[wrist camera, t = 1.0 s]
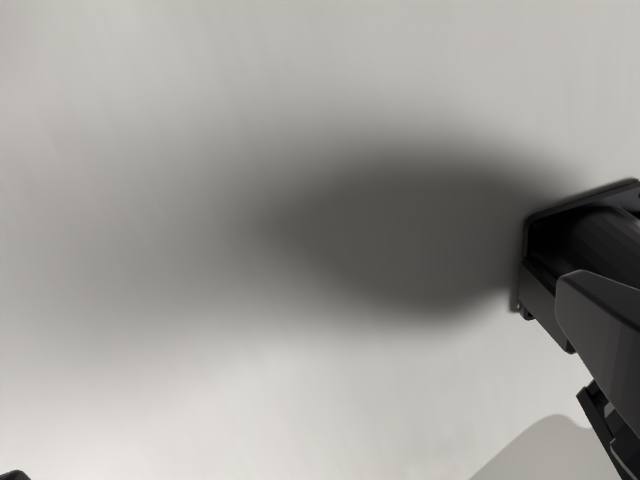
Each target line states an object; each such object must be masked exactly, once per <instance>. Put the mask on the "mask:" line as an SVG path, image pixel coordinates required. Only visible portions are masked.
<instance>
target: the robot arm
mask: <svg viewBox="0 0 640 480" xmlns="http://www.w3.org/2000/svg"><path fill="white" fill-rule="evenodd" d="M536 224H537V225H536ZM535 225H536V226H535ZM534 226H535V227H534ZM518 299H519V301H520V304H519V313H520V315H521V316H522V317H523V318H524V319H525V320H528V321H529V320H533V319H536V320H537V321H538V322H539V323H540V324H541V325H542V327H543V328H544V329H545V330H546V331H547V332H548V333H549V334H550V336H551V337H552V338H553V339H554V340H555V341H556V342H557V343H558V345H559V346H560V347H561V348H562V349H563V350H564V351H565V352H567V353H568V354H574V353H578V355H579V356H580V358H581V359H582V361H583V363H584V364H585V366H586V367H587V369H588V370H589V372H590V373H591V375H592V376H593V378H594V379H593V380H592V381H591V382H590V384H589V385H588V386H587V387H585V386H584V387H583V388H582V389H581V390H580V391H579V392H578V394H577V395H576V397H577V399H578V401H579V403H580V404H581V406H582V408H583V410H584V412H585V414H586V416H587V418H588V420H589V422H590V423H591V425H592V427H593V429H594V430H595V432H596V434H597V436H598V437H599V439H600V441H601V443H602V445H603V447H604V448H605V450H606V452H607V454H608V456H609V457H610V459H611V461H612V463H613V465H614V466H615V468H616V470H617V472H618V474H619V475H620V477H621V479H622V480H640V181H639V182H635V183H632V184H629V185H626V186H623V187H619V188H616V189H613V190H610V191H607V192H603V193H600V194H597V195H594V196H591V197H587V198H584V199H581V200H578V201H575V202H571V203H568V204H565V205H562V206H559V207H555V208H552V209H549V210H546V211H543V212H539V213H536V214H533V215H531V216H529V217H528V218H527V219H526V221H525V222H524V226H523V244H522V260H521V262H520V273H519V295H518ZM0 480H31V479H30V478H29V477H28V476H27V475H26V474H25V473H24V472H23V471H20V470H13V471H10V472H8V473H5V474H2V475H0Z"/></svg>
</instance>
